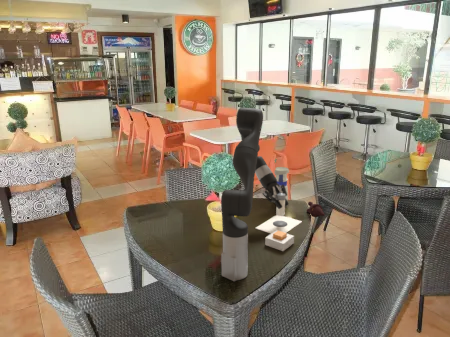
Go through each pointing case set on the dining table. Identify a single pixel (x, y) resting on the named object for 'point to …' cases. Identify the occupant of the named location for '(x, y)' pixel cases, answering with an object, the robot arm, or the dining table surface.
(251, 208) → the robot arm
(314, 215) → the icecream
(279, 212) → the salt shaker
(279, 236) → the button
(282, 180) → the water bottle
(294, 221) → the paper
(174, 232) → the dining table surface
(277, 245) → the button housing
